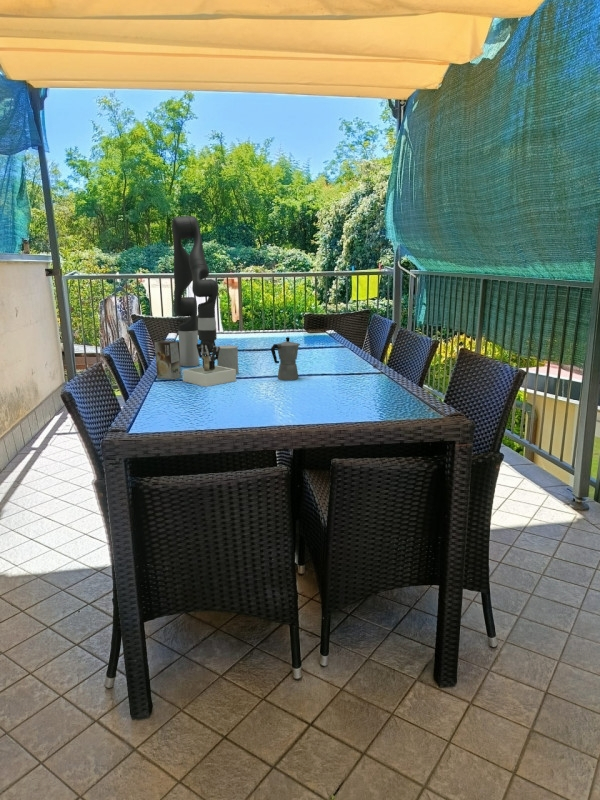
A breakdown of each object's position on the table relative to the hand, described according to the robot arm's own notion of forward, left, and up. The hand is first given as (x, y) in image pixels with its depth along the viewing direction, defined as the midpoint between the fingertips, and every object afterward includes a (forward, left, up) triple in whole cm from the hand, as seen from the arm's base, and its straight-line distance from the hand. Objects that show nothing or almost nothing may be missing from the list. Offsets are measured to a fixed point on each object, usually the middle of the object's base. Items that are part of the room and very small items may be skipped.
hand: (208, 368), depth 233 cm
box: (0, 0, -5) cm, 5 cm away
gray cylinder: (-8, +16, -6) cm, 19 cm away
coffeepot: (+20, +26, -6) cm, 33 cm away
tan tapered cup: (0, 0, -1) cm, 1 cm away
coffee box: (-19, -8, -6) cm, 21 cm away
